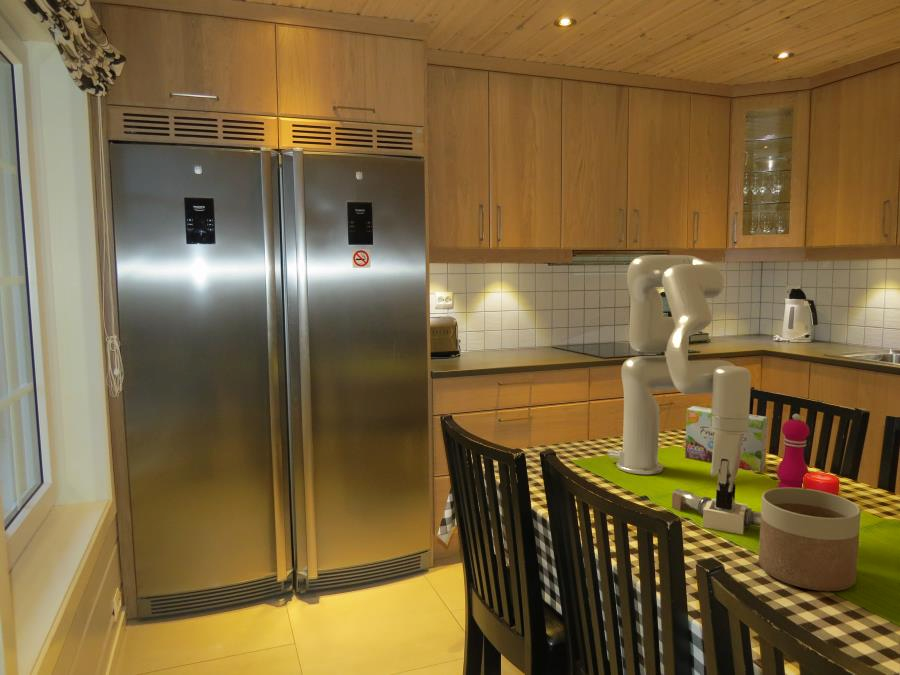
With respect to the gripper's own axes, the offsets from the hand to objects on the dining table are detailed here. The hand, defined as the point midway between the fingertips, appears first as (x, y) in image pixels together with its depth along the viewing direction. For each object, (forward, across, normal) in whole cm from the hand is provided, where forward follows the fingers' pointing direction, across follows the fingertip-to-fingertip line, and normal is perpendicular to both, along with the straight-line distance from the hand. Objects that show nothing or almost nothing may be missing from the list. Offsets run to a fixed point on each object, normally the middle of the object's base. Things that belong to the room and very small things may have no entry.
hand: (725, 503), depth 144 cm
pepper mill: (+5, -31, +12) cm, 33 cm away
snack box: (+5, -48, -6) cm, 48 cm away
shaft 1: (+5, -4, -8) cm, 10 cm away
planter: (+5, +17, +16) cm, 24 cm away
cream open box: (+5, 0, 0) cm, 5 cm away
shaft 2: (+5, 0, +9) cm, 10 cm away
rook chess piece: (+2, 0, 0) cm, 2 cm away
